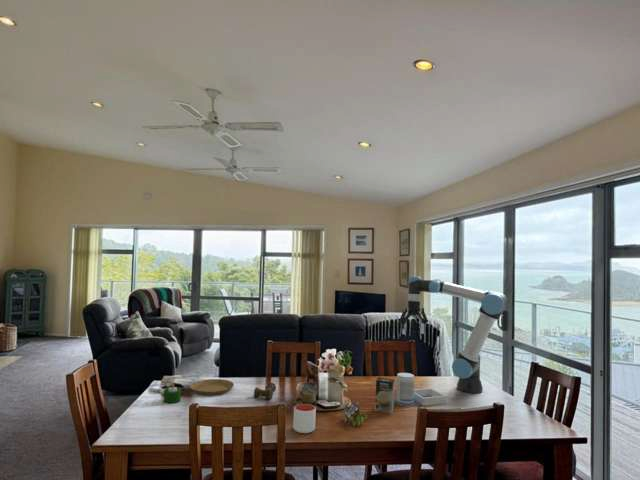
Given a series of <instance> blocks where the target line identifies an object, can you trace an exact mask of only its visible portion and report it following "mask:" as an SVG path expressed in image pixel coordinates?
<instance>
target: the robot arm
mask: <svg viewBox="0 0 640 480" xmlns="http://www.w3.org/2000/svg"><path fill="white" fill-rule="evenodd" d="M422 292H423V293H431V294H435V293H436V294H437V293H440V294H445V295H449V296H451V297H456V298H460V299H464V300H467V301H471V302H474V303H479V304H481V305H480V307H479V310H478V311H479V317H478V318H477V320H476V322H475V324H474V327H473V328H472V331H471V333H470V334H469V335H470V336H469V337H468V340H467V341H466V344H465V346H464V347H463V349H461V350H459V353H458V354H457V357H456V358H455V359H454V360H453V361H452V364H451V369H452V372H453V374H454V375H455V376H456V377H458V380H457V383H456V389H457V390H459V391H460V392H464V393H467V394H468V393H469V394H479V393H482V392H483V390H484V389H483V388H484V387H483V386H482V381H481V360H482V359H481V355H480V354H481V350H482V349H483V346H484V344H485V342H486V340H487V338H488V336H489V334H490V333H491V330H492V327H493V325H494V323H495V322H496V321H499V319H500V318H501V317H502V316H501V315H502V314H503V311H505V310H506V309H507V307H508V306H509V300H508V297H507V296H506V295H505V294H504V293H502V292H500V291H498V292H497V291H491V290H485V291H484V290H480V289H475V288H473V287H472V288H471V287H467V286H464V285H459V284H455V283H451V282H447V281H443V280H440V279H431V280H430V279H422V278H421V276H419V275H418V276H416V275H411V276H409V278H408V294H407V297H408V298H407V300H408V301H407V307H408V308H407V307H403V309H402V310H403V311H402V314H401V315H400V317H399V320H398V323H400V324H401V326H400V327H401V329H402V330H401V332H402V333H401V334H402V335H406V330H407V329H406V328H407V325H406V322H407V321H408V320H409V319H410V317H411V316H417V317H418V319H419V320H420V321H421V322H420V334H421V335H422V334H423V335H425V329H426V324H427V323H428V322H429V319H428V318H427V315H426V312H425V308H423V307H421V302H420V300H421V293H422Z"/></svg>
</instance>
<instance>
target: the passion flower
mask: <svg viewBox="0 0 640 480" xmlns="http://www.w3.org/2000/svg"><path fill="white" fill-rule="evenodd" d="M359 404H360V401H357V402H353V403H351V404H350V402H347V403H346V404H345V405H344V407H343V408H342V410H345V409H346V410H345V411H344V412H343V417H344V419H345V420H344V423H346V422H348V420H349V419H351V421H352V426H353V427H354V428H356V425H357V426H358V427H359V426H360V425H362V424H363V422H364V420H367V418H368V414H367V413H365V414H362V413H361V412H360V406H359Z"/></svg>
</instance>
